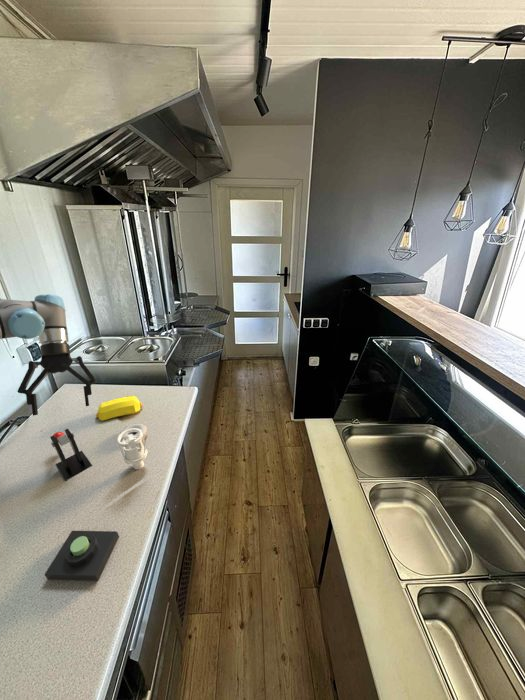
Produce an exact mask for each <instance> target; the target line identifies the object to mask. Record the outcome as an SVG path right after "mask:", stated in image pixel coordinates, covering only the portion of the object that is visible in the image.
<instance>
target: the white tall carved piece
mask: <svg viewBox="0 0 525 700" xmlns="http://www.w3.org/2000/svg"><path fill="white" fill-rule="evenodd" d="M130 432H139V433H140V436H139V438H138V436H133V435H134V434H133V433H131V434H130V435H128V437H129V438H128V439H126V440H124V439H123V441H122V442H120V440H121V438H122V437H123V436H124V435H126V434H128V433H130ZM119 434H120V433H119ZM141 439H142V440H141ZM117 443H118V446H119V450H120V453H121V455H122V457H123V462H124V463H125V464H127V465H133V468H134V470H140V469H142V468H143V467H144V466H145V463H144V460H145V459H146V457H147V456H148V453H149V452H148V449H147V446H146V445H147V444H146V441H145V439H144V437H143V434H142V431H141V430H140V429H138V428H131V429H128V430H126V431H124V432H122V433H121V434H120V435H118V436H117Z"/></svg>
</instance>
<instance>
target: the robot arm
mask: <svg viewBox="0 0 525 700" xmlns="http://www.w3.org/2000/svg"><path fill="white" fill-rule="evenodd" d="M68 333H69V332H68V327H67V316H66V308H65V303H64V299H63V298H62V297H61V296H59V295H57V294H50V293H49V294H39V295H36V296H35V297H34V300H18V299H5V298H4V299H3V298H0V340H3V339H10V338H19V339H24V340H30V339H35V338H37V337H38V340H39V344H40V346H39V349H40V361H33V360H30V361H28V365H27V367H28V369H27V370H26V372H25V375H24V376H23V378H22V381H21V382H20V384H19V387H18V388H17V393H18V394H24V395H25V397H26V398H25V399H26V405H27V406H31V412H32V417H34V416H38V415H39V411H38V403H37V402H38V401H37V393H34V391H35V390H36V389H37V388H38V387H39V385H40V384H41V383H42V382H43V381H44V380H45V378H46V377H47V376H48V375H49V374H52V375H53V374H54V375H55V374H57V373H66V372H69V373H70V374H71V375H72V376H74V377H75V378H77V379H78V380H79V381H81V382H82V383H83V384H85V385H84V386H83V387H82V388H83V394H84V402H85V403H84V404H85V407H89V406H90V401H89V396H91V395H92V394H93V393H92V385H93V384H95V383H97V379H96V377H95V376H94V375H93V374H92V372H91V371H90V369H89V368H88V367H87V366H86V364H85V363H84V360H83V357H82V356H81V355H78V356H77V357H72V356H71V349H70V344H69V341H70V340H69V334H68ZM73 363H75V364H77V365H79V367H80V368H81V369H82V371H83V372H84V373H85V374H86V376H87V377H88V378H89V380H88V379H86V378H85V377H84V376H82V375H81V374H80V373H79V372H78V371H76V370H75V369H74V368H72V367H71V365H72V364H73ZM39 366H41V367H42V368H43V370H41V372H40V373H39V375H38V376H37V377H36V378H35V379H34V381H33V382H31V384H30V386H29V383H30V381H31V379H32V377H33V375H34V373H35V372H36V369H38V368H39ZM28 386H29V387H28Z"/></svg>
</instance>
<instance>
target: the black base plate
mask: <svg viewBox="0 0 525 700" xmlns="http://www.w3.org/2000/svg"><path fill="white" fill-rule="evenodd" d="M81 536H85V537H87V539H88V541H89V543H90V545H89V548H88V550H87V551H86V552H85V553H84V554H82V555H80V556H74V555H73V554H72V552H71V550H70V546H71V544H72V543H73V541H74V540H75V539H77V538H79V537H81ZM119 538H120V536H119V532H118V531H117V530H116V531H114V530H113V531H112V530H111V531H110V530H71V531H70V533H69V534H68V536H67V538H66V539H65V541H64V542H63V544H62V546H61V547H60V549H59V551H58V552H57V554H56V555H55V557H54V558H53V560H52V562H51V563H50V565H49V566H48V568H47V570H46V571H45V572H44V577H45V578H46V579H47V580H48V581H80V582H81V581H83V582H99V580H100V579H101V577H102V574H103V572H104V569H105V568H106V566H107V563H108V562H109V560H110V557H111V555H112V553H113V551H114V549H115V546H116V544H117V542H118V540H119Z"/></svg>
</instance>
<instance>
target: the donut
mask: <svg viewBox="0 0 525 700" xmlns="http://www.w3.org/2000/svg"><path fill="white" fill-rule="evenodd" d="M131 428H138V429H140V430H141V431H142V434H143V437H144V440H145V439H146V437H148V436H147V435H148V427H147V426H146V425H145V424H142V423H131V424H129V425H127V426H125V427H124V428H123V429H122V430H120V431H119V435H120V434H121V433H122V432H124V431H126V430H128V429H131ZM130 434H132V435H133V436H138V438H139V436H140V433H139V432H130V433H128V434H126V435H124V436H123V437H122V438H121V440H120V442H122V441H123V439H124V440H126V439H128V438H129V437H128V435H130ZM119 435H118V436H119ZM141 440H142V439H141Z"/></svg>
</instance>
